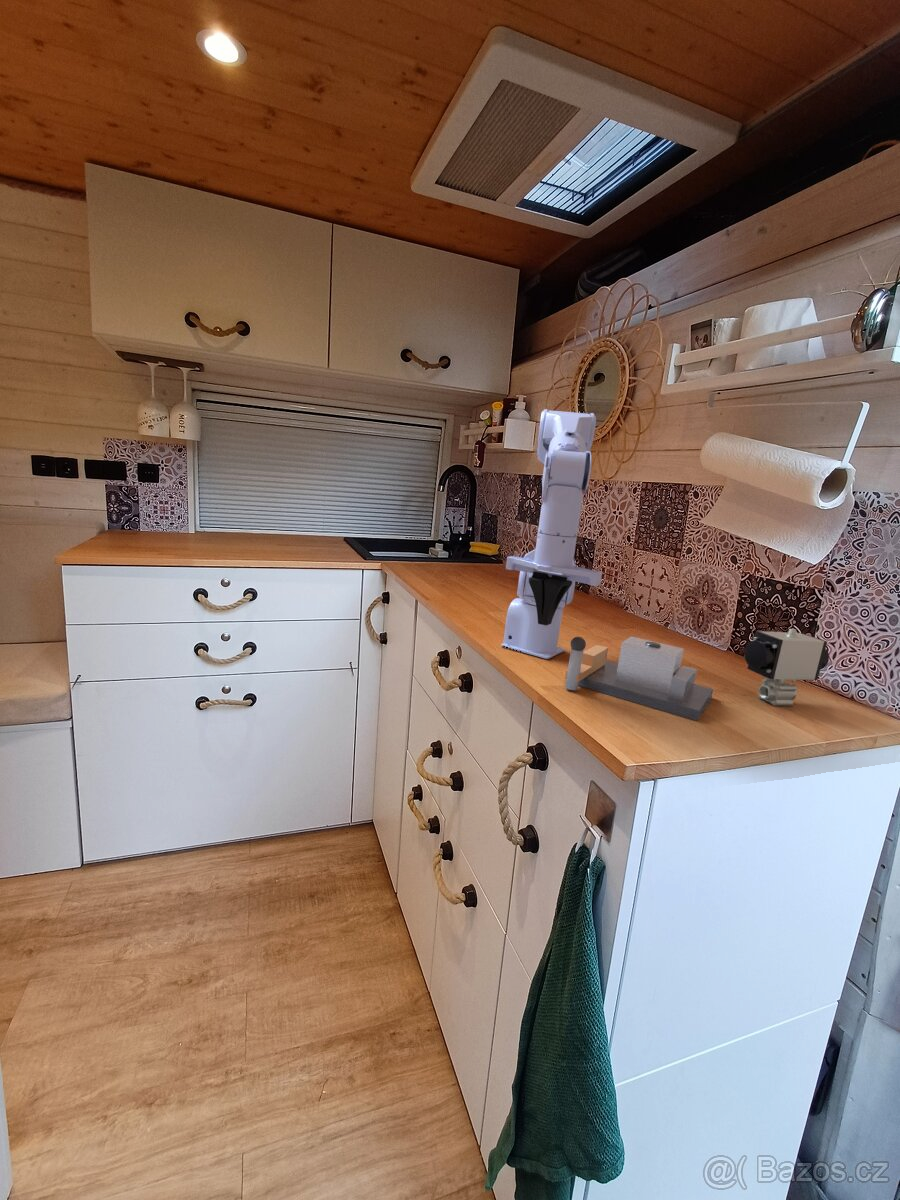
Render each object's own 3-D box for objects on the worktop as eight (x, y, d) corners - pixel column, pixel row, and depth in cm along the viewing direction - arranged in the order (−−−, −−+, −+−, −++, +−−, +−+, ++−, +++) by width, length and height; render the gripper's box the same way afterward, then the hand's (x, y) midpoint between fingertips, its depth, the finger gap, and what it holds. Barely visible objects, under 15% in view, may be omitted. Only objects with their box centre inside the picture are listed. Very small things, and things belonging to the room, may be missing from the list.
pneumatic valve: (817, 708, 87) (836, 635, 84) (755, 708, 84) (773, 632, 82) (789, 694, 92) (806, 625, 90) (729, 694, 89) (745, 622, 87)
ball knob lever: (561, 687, 83) (569, 636, 81) (592, 668, 94) (599, 622, 92) (575, 692, 82) (583, 640, 80) (604, 671, 93) (612, 625, 91)
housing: (615, 679, 86) (622, 640, 85) (624, 671, 90) (631, 634, 89) (668, 694, 82) (677, 653, 80) (676, 685, 86) (684, 647, 85)
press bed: (567, 682, 87) (572, 655, 86) (594, 666, 97) (598, 641, 96) (697, 720, 77) (703, 690, 76) (711, 698, 87) (717, 670, 86)
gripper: (501, 528, 82) (490, 617, 85) (595, 542, 75) (580, 639, 77) (522, 528, 88) (511, 611, 91) (612, 541, 80) (597, 631, 83)
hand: (544, 623), depth 85 cm, fingers closed
